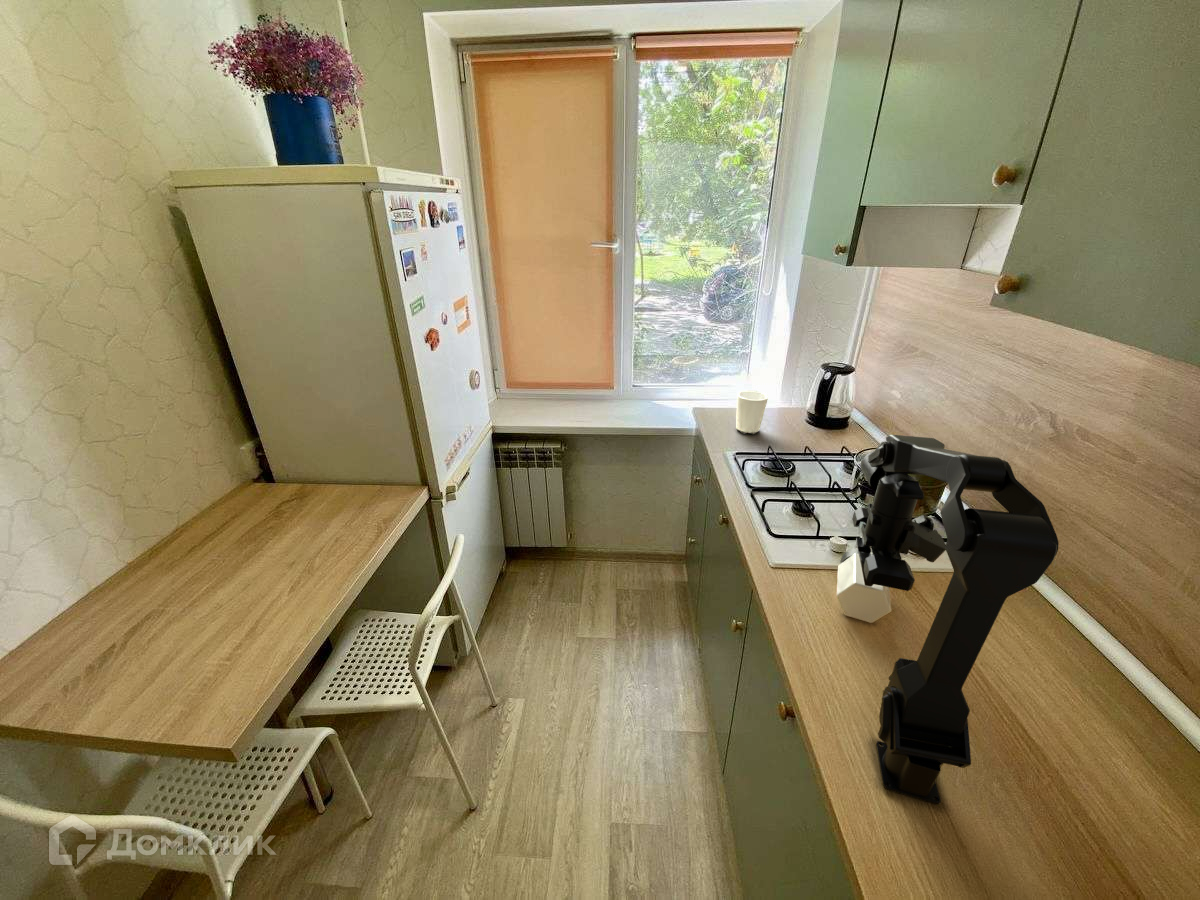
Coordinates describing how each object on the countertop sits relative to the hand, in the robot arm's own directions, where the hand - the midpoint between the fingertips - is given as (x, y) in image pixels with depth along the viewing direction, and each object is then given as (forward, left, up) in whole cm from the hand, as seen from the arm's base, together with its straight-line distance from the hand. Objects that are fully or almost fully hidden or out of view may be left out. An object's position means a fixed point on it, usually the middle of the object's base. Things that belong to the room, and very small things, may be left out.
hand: (867, 584), depth 85 cm
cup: (+83, +24, -9) cm, 87 cm away
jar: (+1, 0, -5) cm, 5 cm away
